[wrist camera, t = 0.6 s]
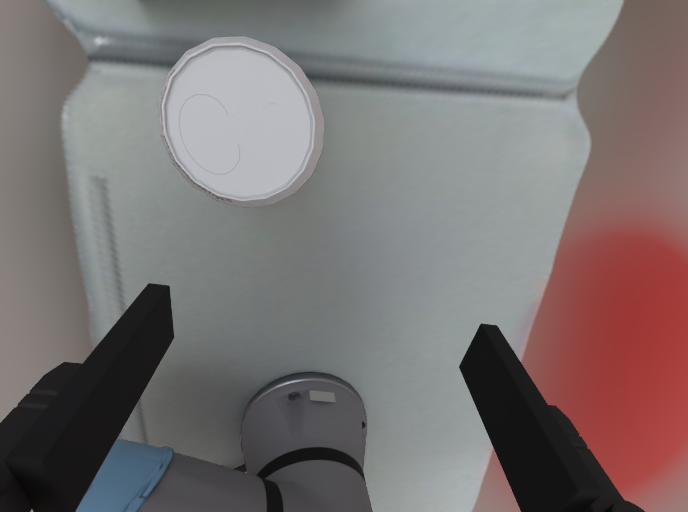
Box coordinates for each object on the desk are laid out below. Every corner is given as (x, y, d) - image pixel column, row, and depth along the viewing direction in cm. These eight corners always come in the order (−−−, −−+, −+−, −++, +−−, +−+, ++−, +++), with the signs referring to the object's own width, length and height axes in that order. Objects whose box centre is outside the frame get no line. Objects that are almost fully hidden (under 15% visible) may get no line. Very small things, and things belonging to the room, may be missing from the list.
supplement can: (234, 190, 31) (192, 232, 17) (198, 95, 28) (111, 50, 14) (318, 166, 31) (345, 188, 17) (291, 71, 28) (298, 4, 14)
